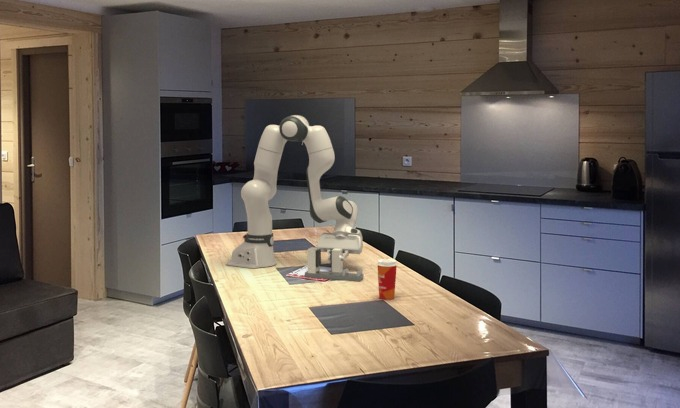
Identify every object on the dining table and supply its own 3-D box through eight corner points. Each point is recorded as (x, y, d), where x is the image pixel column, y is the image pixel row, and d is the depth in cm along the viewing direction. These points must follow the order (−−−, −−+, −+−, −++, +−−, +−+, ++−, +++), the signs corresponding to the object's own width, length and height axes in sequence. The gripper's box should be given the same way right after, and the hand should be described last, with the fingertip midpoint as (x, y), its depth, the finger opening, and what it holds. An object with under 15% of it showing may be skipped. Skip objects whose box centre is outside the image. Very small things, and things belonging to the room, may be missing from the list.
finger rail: (304, 277, 280) (304, 249, 278) (308, 274, 284) (308, 246, 283) (360, 281, 273) (360, 252, 271) (363, 278, 277) (363, 250, 276)
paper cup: (375, 295, 252) (375, 258, 250) (395, 294, 253) (395, 258, 251) (377, 300, 244) (378, 263, 242) (398, 300, 245) (399, 262, 243)
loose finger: (330, 272, 288) (329, 250, 287) (333, 270, 293) (333, 247, 291) (339, 273, 287) (339, 250, 285) (343, 271, 291) (343, 248, 290)
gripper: (319, 228, 297) (311, 254, 289) (363, 230, 291) (357, 257, 283) (322, 236, 302) (315, 262, 294) (366, 239, 296) (360, 265, 288)
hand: (336, 259), depth 288 cm, fingers closed on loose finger, 4 cm apart
